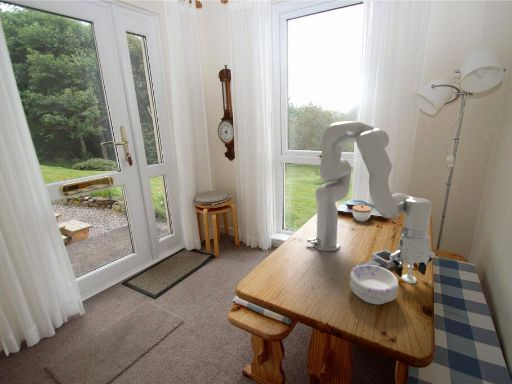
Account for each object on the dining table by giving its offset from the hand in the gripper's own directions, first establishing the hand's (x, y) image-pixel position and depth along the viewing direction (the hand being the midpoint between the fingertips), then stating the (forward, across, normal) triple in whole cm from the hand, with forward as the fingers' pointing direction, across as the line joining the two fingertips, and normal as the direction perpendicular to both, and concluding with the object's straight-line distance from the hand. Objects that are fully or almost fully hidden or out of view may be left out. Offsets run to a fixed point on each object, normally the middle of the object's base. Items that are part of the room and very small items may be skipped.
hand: (409, 273), depth 97 cm
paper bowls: (+3, -18, -7) cm, 20 cm away
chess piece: (+3, 0, 0) cm, 3 cm away
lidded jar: (+3, +9, +60) cm, 61 cm away
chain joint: (+3, -2, +13) cm, 13 cm away
